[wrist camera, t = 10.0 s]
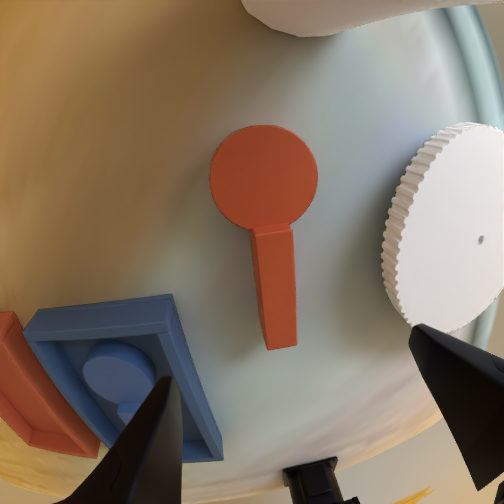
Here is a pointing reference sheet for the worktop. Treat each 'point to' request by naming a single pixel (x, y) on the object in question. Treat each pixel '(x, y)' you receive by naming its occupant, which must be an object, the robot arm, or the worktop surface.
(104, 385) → the blue spoon
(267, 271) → the terracotta spoon
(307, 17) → the foam cup
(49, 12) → the worktop surface
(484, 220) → the plastic lid
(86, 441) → the terracotta tray
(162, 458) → the robot arm
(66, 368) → the blue tray
